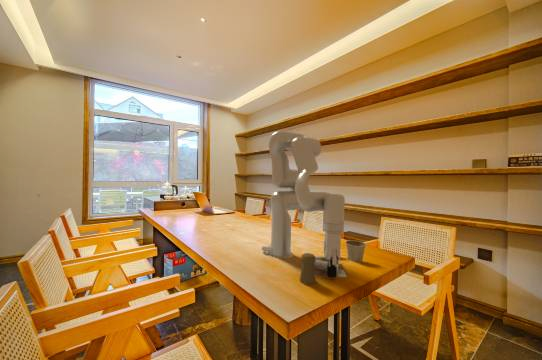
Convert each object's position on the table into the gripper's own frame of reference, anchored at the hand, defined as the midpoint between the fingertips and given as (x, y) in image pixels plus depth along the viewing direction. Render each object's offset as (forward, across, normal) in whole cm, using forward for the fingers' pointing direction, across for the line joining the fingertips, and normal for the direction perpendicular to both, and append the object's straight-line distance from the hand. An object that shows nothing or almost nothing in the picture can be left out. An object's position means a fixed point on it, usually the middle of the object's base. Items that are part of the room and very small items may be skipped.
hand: (331, 276), depth 88 cm
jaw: (+1, -8, -4) cm, 9 cm away
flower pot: (+2, -24, +14) cm, 28 cm away
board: (+2, -9, -2) cm, 10 cm away
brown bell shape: (+2, +4, -9) cm, 10 cm away
